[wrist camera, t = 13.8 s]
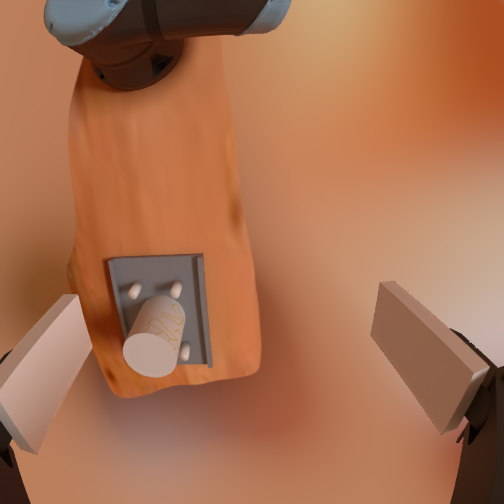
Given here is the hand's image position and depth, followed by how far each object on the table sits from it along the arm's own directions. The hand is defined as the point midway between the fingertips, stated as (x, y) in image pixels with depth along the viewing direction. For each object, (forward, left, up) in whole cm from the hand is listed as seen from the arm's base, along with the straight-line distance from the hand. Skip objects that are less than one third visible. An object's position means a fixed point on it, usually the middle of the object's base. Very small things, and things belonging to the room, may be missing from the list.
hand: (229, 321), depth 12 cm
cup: (+20, -12, -36) cm, 43 cm away
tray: (+20, -12, -37) cm, 43 cm away
